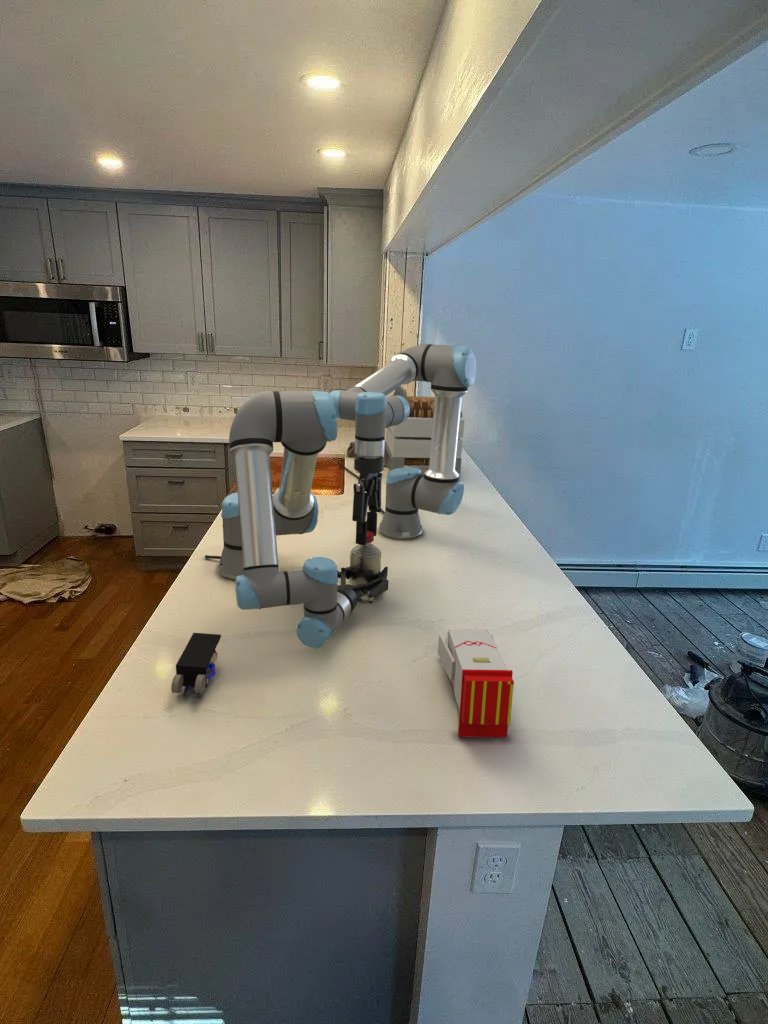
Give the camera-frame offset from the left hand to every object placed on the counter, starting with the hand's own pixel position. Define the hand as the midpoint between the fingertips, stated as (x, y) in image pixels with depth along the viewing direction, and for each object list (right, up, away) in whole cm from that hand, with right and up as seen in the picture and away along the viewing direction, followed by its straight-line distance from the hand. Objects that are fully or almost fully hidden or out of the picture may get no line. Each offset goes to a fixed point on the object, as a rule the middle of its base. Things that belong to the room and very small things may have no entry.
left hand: (371, 568), depth 159 cm
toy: (+22, -22, -40) cm, 50 cm away
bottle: (-2, -7, -2) cm, 8 cm away
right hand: (-1, +8, -8) cm, 11 cm away
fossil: (-10, +47, +148) cm, 156 cm away
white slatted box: (+21, +35, +116) cm, 123 cm away
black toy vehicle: (-35, -20, -41) cm, 57 cm away
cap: (-1, +10, -8) cm, 13 cm away
